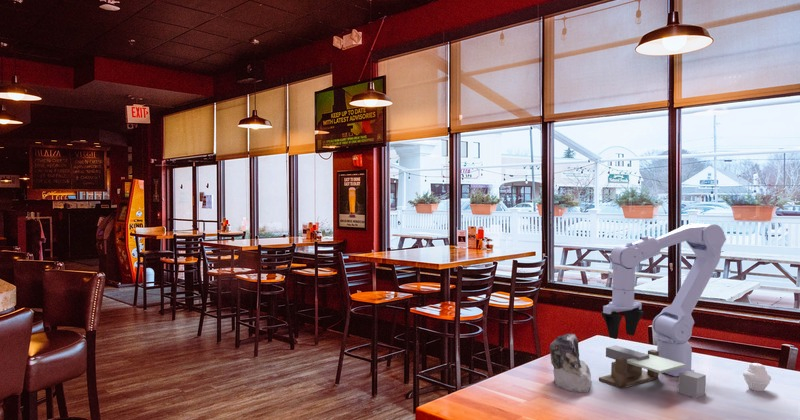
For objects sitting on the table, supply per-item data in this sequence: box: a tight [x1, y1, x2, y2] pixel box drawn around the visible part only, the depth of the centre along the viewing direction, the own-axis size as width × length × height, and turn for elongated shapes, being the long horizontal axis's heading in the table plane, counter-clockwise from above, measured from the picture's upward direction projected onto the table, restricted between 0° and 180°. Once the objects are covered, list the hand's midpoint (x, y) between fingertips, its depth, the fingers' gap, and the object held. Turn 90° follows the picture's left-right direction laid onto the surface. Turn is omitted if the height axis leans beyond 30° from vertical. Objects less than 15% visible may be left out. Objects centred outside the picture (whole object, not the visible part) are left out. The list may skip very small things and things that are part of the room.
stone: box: [549, 332, 593, 393], centre depth 142 cm, size 14×10×15 cm
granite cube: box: [678, 370, 707, 399], centre depth 137 cm, size 4×4×5 cm
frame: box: [598, 349, 659, 389], centre depth 147 cm, size 16×7×8 cm, turn 121°
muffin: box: [742, 362, 772, 392], centre depth 140 cm, size 6×6×7 cm
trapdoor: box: [605, 345, 685, 374], centre depth 144 cm, size 11×18×3 cm, turn 31°
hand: (621, 336), depth 152 cm, fingers open, 7 cm apart
